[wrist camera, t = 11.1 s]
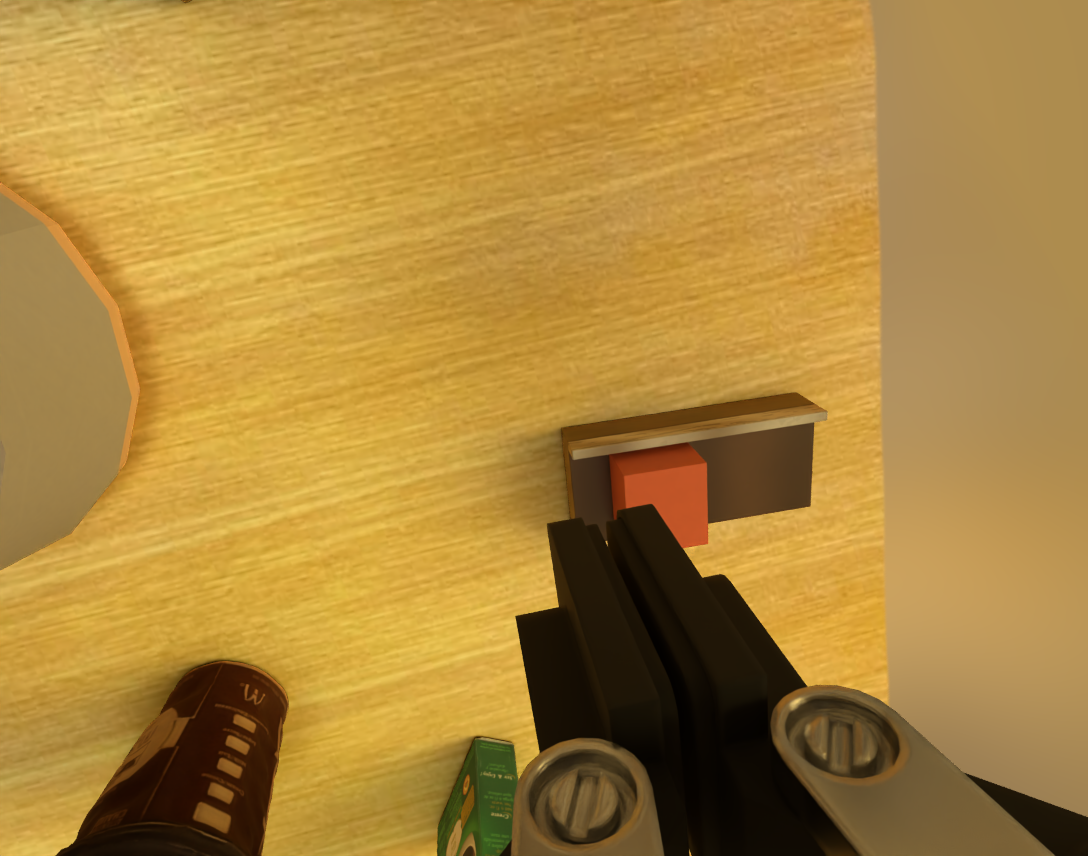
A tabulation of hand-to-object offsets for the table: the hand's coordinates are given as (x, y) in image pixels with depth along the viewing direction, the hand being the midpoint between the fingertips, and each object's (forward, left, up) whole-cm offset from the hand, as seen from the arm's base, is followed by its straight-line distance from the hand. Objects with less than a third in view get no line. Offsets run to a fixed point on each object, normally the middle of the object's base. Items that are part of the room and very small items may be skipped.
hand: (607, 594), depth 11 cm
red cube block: (+4, +11, -22) cm, 25 cm away
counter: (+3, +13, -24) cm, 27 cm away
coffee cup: (+27, -4, -24) cm, 36 cm away
